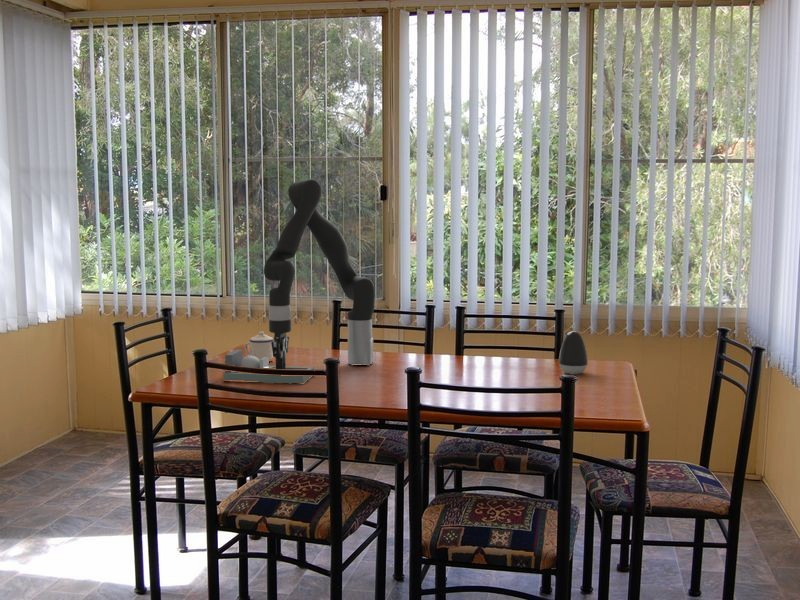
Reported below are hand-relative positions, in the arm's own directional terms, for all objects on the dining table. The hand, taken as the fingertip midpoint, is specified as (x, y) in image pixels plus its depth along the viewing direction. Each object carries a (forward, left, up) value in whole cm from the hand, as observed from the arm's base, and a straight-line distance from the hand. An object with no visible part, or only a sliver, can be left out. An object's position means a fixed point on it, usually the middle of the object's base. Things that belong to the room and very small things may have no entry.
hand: (280, 367), depth 288 cm
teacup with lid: (+18, -31, -4) cm, 36 cm away
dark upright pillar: (+2, 0, -4) cm, 5 cm away
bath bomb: (+11, 0, -4) cm, 12 cm away
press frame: (+4, 0, -4) cm, 6 cm away
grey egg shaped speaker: (-101, -25, -4) cm, 104 cm away
